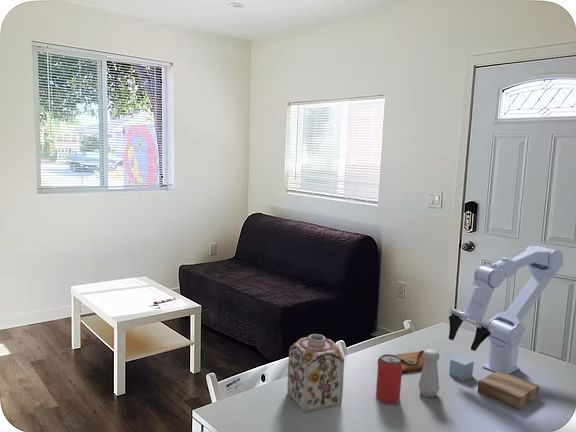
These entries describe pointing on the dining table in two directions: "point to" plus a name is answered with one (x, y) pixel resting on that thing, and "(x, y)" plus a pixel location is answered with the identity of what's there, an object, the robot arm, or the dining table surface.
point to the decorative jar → (315, 373)
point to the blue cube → (461, 367)
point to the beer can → (389, 379)
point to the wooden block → (508, 389)
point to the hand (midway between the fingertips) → (461, 344)
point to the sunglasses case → (411, 361)
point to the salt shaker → (429, 374)
